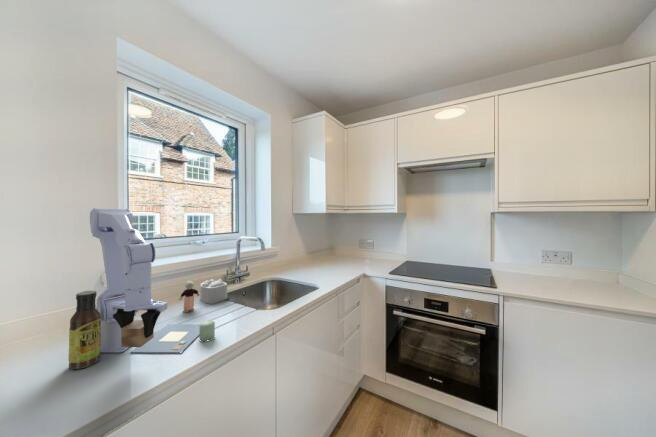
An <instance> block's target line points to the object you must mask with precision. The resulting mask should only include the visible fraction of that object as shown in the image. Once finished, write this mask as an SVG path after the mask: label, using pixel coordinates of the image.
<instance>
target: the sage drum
mask: <svg viewBox="0 0 656 437" xmlns="http://www.w3.org/2000/svg"><path fill="white" fill-rule="evenodd" d="M199 324H200V325H199V336H198V337H199V339H200V340H201V341H207V340H211V339H212V340H214V339H215V337H214V336H216V334H215V333H216V332H215V330H216V329H215V328H216V327H215V325H216V323H215V321H213V320H205V321H202V322H200V323H199ZM213 338H214V339H213ZM199 339H198V340H199ZM200 340H199V341H200ZM212 340H211V341H212ZM201 341H200V342H201ZM207 342H208V341H207Z"/></svg>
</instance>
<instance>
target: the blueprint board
mask: <svg viewBox="0 0 656 437" xmlns="http://www.w3.org/2000/svg"><path fill="white" fill-rule="evenodd" d="M199 325H200V323H199V324H194V323H193V324H188V323H187V324H185V323H183V324H181V323H180V324H179V323H178V324H173V323H170V324H169V323H168V324H166V325H165V326H164V327H163V328H161V329H160V330H158V331H157V332H156V333H154V338H152V339H151V340H150V341H148V342H147V343H145V344H144V345H143V346H141V347H134V349H133V350H132V351H130V354H181V353H180V352H182V351H183V352H185V351H186V349H188V347H189V346H190V345H191V344H192V343H193V342H195V340H196V339H198V337H199ZM183 352H182V353H183Z"/></svg>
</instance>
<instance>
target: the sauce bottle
mask: <svg viewBox="0 0 656 437" xmlns="http://www.w3.org/2000/svg"><path fill="white" fill-rule="evenodd" d="M97 295H98V294H97V291H96V290H84V291H81V292H77V293H76V296H75V300H76V308H75V312H74V314H73V315H72V316H71V318H70V321H69V331H68V332H69V333H68V368H69V369H70V370H80V369H83V368H84V369H85V368H87V367H90V366H92V365H94V364H95V363H97V362H98V361H99V360H100V358H101V357H100V354H101V352H100V339H101V318H100V317H101V316H100V313H99V311H98V310H97V309H96V306H97V304H96V299H97Z"/></svg>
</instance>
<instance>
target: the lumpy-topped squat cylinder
mask: <svg viewBox="0 0 656 437" xmlns="http://www.w3.org/2000/svg"><path fill="white" fill-rule="evenodd" d="M199 288H200V289H199V290H200V291H199V297H200V298H199V301H201V302H202V303H205V304H216V303H219V302H221V301H222V302H223V301H226V300H227V299H228V283H227V282H225V281H224V280H223V279H221V278H219V279H218V280H215V279H213V278H211V279H210V280H205V281H203V282H202V283H201V282H200V286H199Z"/></svg>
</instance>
